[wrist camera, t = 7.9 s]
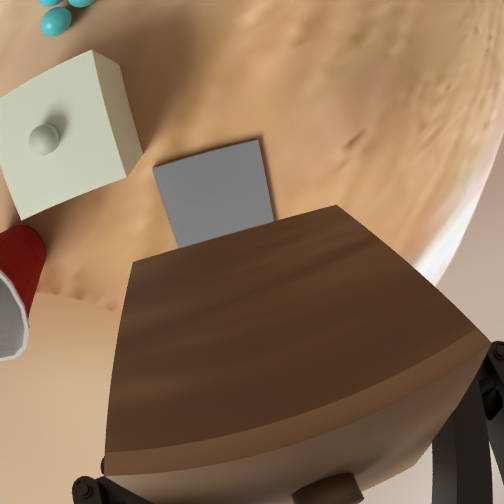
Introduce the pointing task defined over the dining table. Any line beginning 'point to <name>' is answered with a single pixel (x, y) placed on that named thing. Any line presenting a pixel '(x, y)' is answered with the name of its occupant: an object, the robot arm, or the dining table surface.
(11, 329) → the plastic cup
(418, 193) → the dining table surface
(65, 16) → the marbles
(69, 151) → the sage cover
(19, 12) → the dining table surface
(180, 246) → the grey square plate
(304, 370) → the walnut cover
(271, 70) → the dining table surface
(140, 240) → the dining table surface
